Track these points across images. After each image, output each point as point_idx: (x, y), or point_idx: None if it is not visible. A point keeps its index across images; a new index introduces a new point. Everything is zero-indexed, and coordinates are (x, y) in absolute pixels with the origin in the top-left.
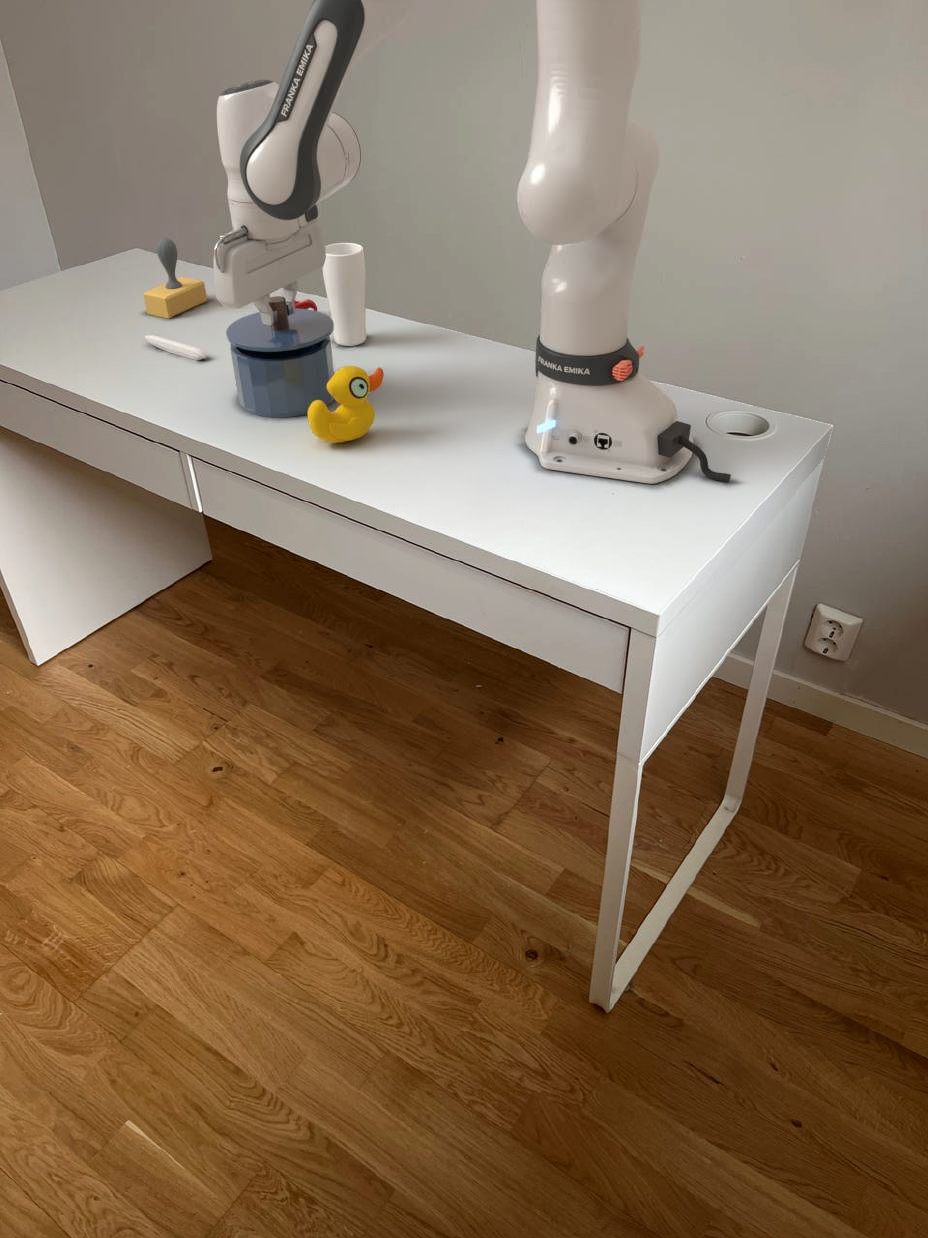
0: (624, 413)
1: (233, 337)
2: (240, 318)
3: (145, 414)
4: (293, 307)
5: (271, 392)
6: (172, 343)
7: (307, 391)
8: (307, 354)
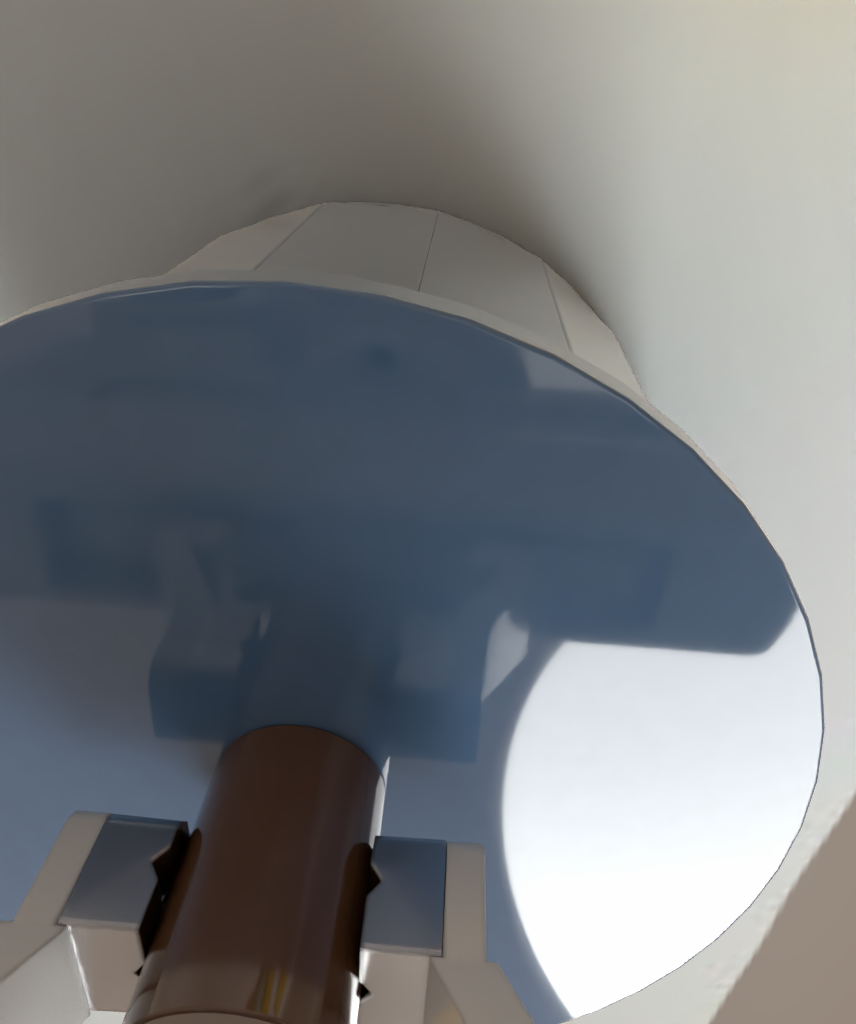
0: None
1: (651, 954)
2: None
3: (771, 880)
4: (73, 859)
5: None
6: None
7: (527, 276)
8: None
